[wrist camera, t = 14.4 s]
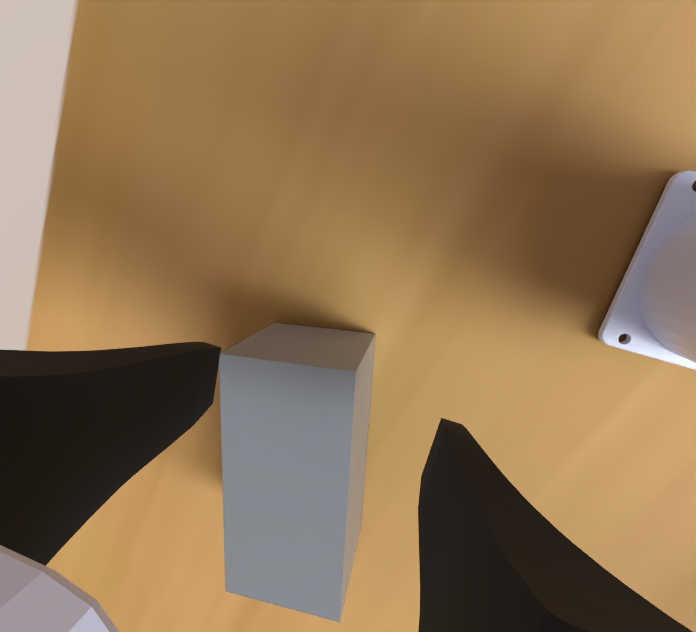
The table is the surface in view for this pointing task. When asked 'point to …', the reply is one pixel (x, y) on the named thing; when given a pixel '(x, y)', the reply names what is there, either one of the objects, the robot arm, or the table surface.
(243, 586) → the tall grey brick
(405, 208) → the table surface
